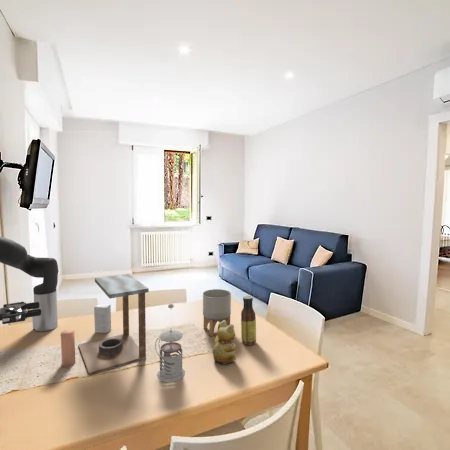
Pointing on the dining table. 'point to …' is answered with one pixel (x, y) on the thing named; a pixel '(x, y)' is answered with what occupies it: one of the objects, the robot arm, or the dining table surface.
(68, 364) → the peg
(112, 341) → the slanted top stand
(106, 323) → the skincare box
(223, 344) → the decorative figurine
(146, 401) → the dining table surface
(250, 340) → the sauce bottle
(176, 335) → the french press
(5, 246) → the robot arm
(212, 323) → the planter
